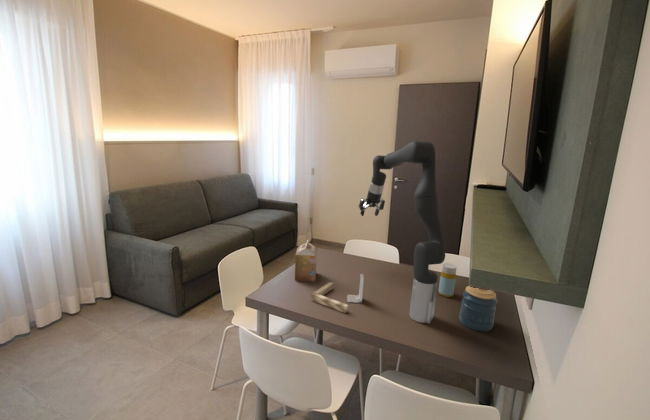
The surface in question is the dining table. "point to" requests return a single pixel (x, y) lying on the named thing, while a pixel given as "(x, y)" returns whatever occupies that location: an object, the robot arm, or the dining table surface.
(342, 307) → the wooden l-shaped corner
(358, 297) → the bracket
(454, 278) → the bottle
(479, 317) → the canister
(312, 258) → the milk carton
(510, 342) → the dining table surface
